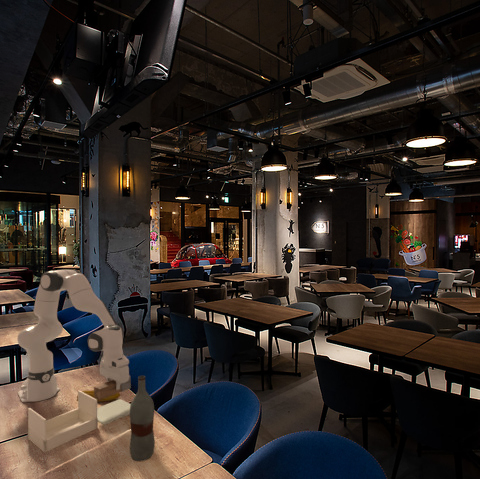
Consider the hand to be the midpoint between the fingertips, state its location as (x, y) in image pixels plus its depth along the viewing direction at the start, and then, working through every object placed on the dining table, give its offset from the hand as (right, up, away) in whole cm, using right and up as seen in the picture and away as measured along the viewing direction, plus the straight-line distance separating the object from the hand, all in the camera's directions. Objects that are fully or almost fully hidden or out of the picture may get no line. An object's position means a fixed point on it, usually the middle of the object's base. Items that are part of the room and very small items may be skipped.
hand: (113, 387), depth 164 cm
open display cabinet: (-15, -12, -19) cm, 26 cm away
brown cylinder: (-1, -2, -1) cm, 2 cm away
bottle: (+23, -12, -33) cm, 42 cm away
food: (-13, -13, +12) cm, 22 cm away
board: (0, -12, 0) cm, 12 cm away
